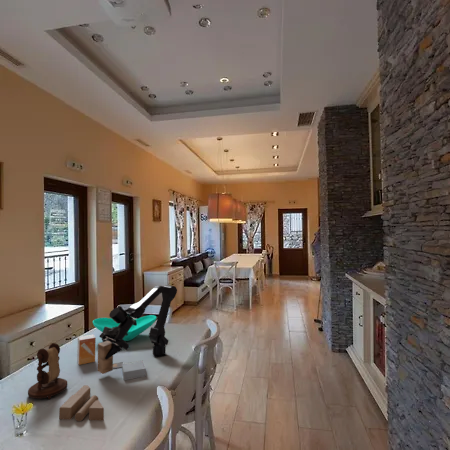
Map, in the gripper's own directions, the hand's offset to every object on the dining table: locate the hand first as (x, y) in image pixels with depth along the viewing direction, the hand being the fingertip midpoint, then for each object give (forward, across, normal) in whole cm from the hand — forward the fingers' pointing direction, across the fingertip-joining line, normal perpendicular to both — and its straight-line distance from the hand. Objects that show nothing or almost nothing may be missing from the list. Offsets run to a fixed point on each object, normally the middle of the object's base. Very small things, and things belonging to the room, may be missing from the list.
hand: (102, 357), depth 144 cm
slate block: (-1, +8, +15) cm, 17 cm away
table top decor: (-19, -36, +33) cm, 52 cm away
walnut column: (+4, 0, +6) cm, 7 cm away
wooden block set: (+18, +20, -4) cm, 27 cm away
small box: (+4, -24, +10) cm, 26 cm away
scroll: (+22, -6, -8) cm, 24 cm away
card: (-1, -6, +14) cm, 16 cm away
